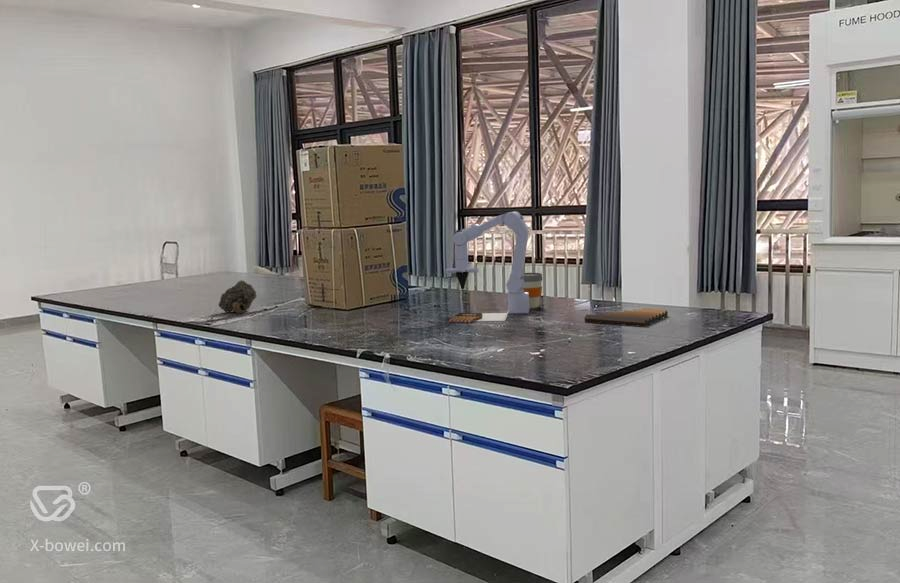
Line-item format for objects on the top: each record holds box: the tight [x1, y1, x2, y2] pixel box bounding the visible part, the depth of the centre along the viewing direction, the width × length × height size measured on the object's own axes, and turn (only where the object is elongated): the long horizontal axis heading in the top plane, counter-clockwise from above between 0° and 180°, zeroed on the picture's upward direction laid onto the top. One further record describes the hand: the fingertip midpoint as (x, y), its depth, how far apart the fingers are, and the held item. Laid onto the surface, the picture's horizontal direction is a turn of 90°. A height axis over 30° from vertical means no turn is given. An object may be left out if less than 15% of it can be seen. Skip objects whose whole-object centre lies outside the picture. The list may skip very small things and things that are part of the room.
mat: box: [474, 312, 509, 323], centre depth 315 cm, size 12×18×1 cm
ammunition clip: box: [448, 312, 483, 323], centre depth 310 cm, size 11×2×12 cm
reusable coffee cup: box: [523, 272, 543, 309], centre depth 339 cm, size 13×13×15 cm
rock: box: [218, 279, 257, 315], centre depth 360 cm, size 18×14×15 cm
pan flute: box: [584, 308, 668, 327], centre depth 299 cm, size 25×3×25 cm
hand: (462, 288), depth 332 cm, fingers closed
